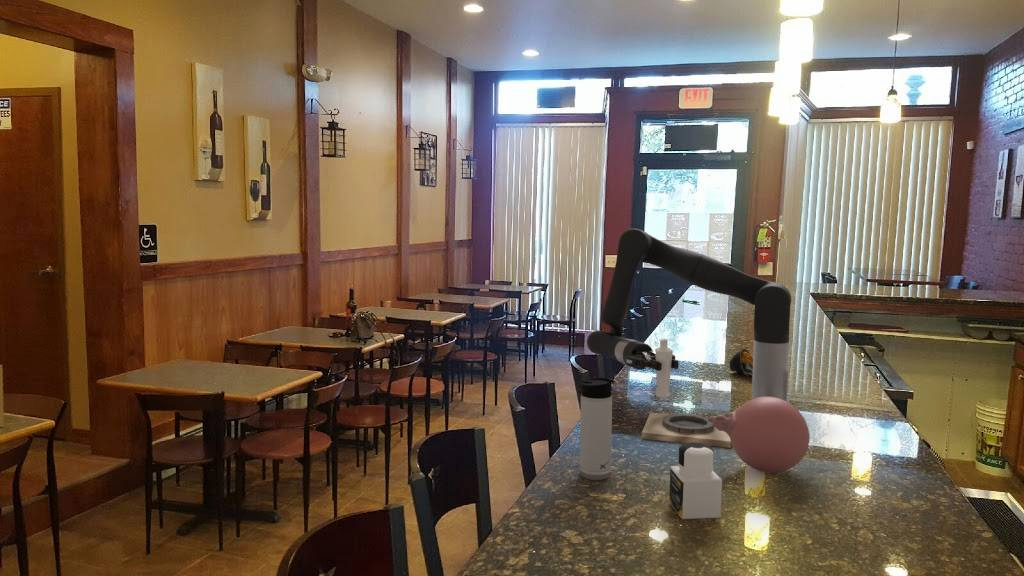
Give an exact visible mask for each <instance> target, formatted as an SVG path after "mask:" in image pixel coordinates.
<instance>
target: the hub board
mask: <svg viewBox="0 0 1024 576" xmlns="http://www.w3.org/2000/svg"><path fill="white" fill-rule="evenodd" d="M641 439H642V440H653V441H661V442H672V443H681V444H686V443H691V442H696V443H702V444H705V445H708V446H710V447H719V448H720V447H721V448H729V449H731V448H732V447H731V445H732V443H731V440H730V437H729V436H728V434H727V433H726V432H724V431H719V430H718V429H717V428H716V427H715V426H714V425H713V423H712V422H709V421H708V417H706V416H702V415H699V414H691V413H674V414H673V413H672V414H671V413H660V412H649V415H648V417H647V420H646V421H645V425H644V426H643V429H642V431H641Z"/></svg>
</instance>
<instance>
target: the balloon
mask: <svg viewBox="0 0 1024 576" xmlns="http://www.w3.org/2000/svg"><path fill="white" fill-rule="evenodd" d="M707 418H708V421H709V422H712V423H713V425H714V426H715V427H716V428H717V429H718V430H719V431H724V432H726V433H727V434H728V436H729V437H730V440H731V445H732V448H733V450H734V452H735V453H736V455H737V457H738V458H739V459H740V460H741V461H742V462H743V463H745V465H747V466H748V467H750V468H752V469H754V470H756V471H759V472H763V473H765V474H766V473H769V474H776V473H777V474H778V473H783V472H786V471H789V470H790V469H792V468H794V467H796V466H797V465H798V464H799V463H800V462H801V461H802V460H803V459H804V457H805V455H806V453H807V452H808V449H809V446H810V431H809V426H808V423H807V421H806V419H805V417H804V416H803V414H802V413H801V412H800V410H798V409H797V407H796V406H794V405H793V404H791V403H790V402H788V401H787V402H786V401H784V400H782V399H779V398H775V397H758V398H754V399H752V398H751V399H750V400H748V401H746V402H744V403H743V404H742V405H740V406H739V407H737V408H735V409H734V410H733V411H729V412H727V413H724V414H718V415H716V416H715V415H713V416H711V415H710V416H708V417H707Z"/></svg>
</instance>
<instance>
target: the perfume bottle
mask: <svg viewBox="0 0 1024 576" xmlns="http://www.w3.org/2000/svg"><path fill="white" fill-rule="evenodd" d="M668 341H669V340H668V339H665V338H663V339H661V338H660V339H659V346H658V347H657V348H655V349H654V351H655V358H656V361H658V362H661V364H662V365H661V371H657V370H655V375H656V378H655V379H656V390H655V396H656V397H657V398H669V397H671V393H670V383H671V382H670V381H671V372H672V368H671V363H672V354H673V352H674V351H673V349H671V348H669V346H668Z"/></svg>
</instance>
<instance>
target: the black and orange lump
mask: <svg viewBox="0 0 1024 576" xmlns="http://www.w3.org/2000/svg"><path fill="white" fill-rule="evenodd" d="M729 369H730V371H731V372H736V373H737V374H739V375H743V376H747V377H748V378H752V375H753V355H752V354H751V353H750V352H749V350H748V349H746V348H742V349H741V350H740V351H738V352H736V353H735V354H734V355H733V357H731V358H730V360H729Z"/></svg>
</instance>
